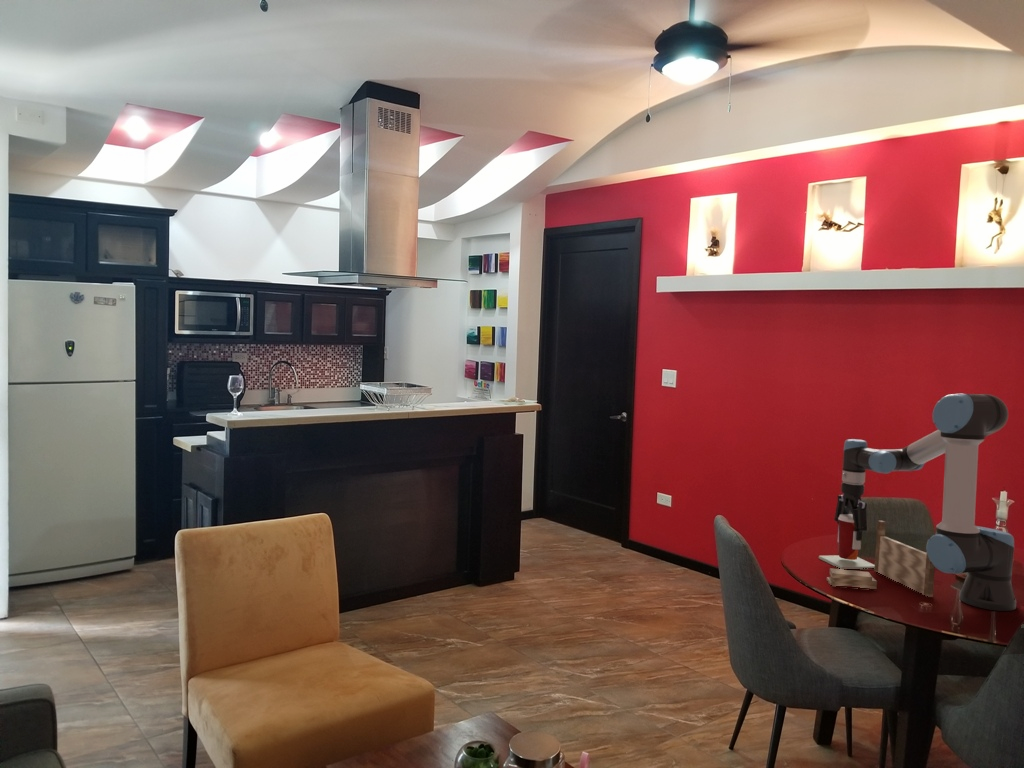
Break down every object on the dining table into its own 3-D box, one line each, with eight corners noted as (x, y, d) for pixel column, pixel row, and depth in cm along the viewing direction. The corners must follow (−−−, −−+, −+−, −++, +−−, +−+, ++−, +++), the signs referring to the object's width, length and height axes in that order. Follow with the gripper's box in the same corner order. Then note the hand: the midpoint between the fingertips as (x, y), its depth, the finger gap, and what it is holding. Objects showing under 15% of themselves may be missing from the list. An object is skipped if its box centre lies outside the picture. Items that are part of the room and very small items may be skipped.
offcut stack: (830, 587, 256) (831, 573, 256) (826, 581, 263) (827, 567, 263) (877, 591, 254) (878, 577, 253) (871, 585, 260) (872, 571, 260)
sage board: (877, 569, 278) (877, 566, 278) (841, 569, 275) (841, 567, 275) (853, 557, 292) (853, 555, 292) (818, 558, 289) (818, 555, 289)
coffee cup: (861, 561, 278) (864, 519, 277) (836, 558, 281) (838, 517, 280) (859, 555, 286) (862, 514, 285) (834, 553, 289) (837, 512, 288)
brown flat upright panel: (932, 596, 249) (936, 540, 248) (927, 597, 249) (931, 540, 248) (878, 571, 275) (882, 520, 274) (874, 571, 274) (877, 520, 273)
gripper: (826, 477, 291) (822, 538, 293) (861, 488, 271) (857, 554, 272) (844, 477, 293) (840, 537, 294) (881, 488, 272) (877, 553, 274)
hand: (848, 545), depth 283 cm, fingers closed on coffee cup, 8 cm apart
